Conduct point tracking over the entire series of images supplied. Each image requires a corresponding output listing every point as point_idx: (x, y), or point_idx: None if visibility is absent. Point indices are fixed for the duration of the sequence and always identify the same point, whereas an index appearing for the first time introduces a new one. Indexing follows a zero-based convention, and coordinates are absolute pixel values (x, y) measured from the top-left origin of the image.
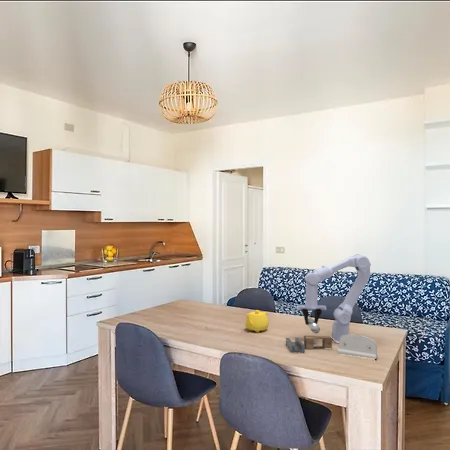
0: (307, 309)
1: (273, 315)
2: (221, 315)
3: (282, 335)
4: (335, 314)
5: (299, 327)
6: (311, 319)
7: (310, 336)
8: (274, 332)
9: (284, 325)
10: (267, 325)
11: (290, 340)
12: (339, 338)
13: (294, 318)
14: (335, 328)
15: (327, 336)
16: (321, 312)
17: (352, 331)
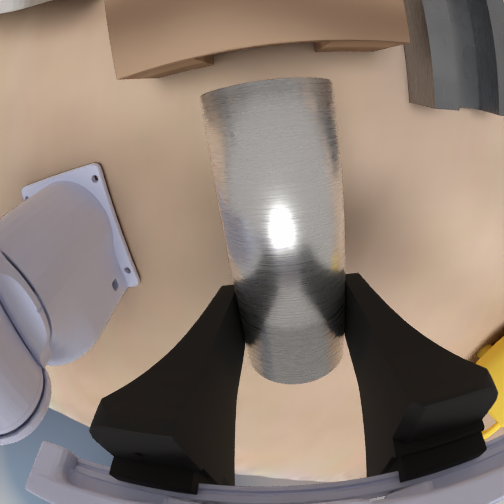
0: (386, 478)
1: (354, 472)
2: (498, 429)
3: (445, 295)
4: (2, 376)
5: (300, 413)
6: (291, 347)
7: (343, 8)
8: (458, 335)
9: (362, 421)
10: (490, 364)
11: (497, 41)
12: (66, 193)
13: (290, 467)
14: (54, 256)
15: (137, 42)
16: (98, 407)
17: (64, 366)
